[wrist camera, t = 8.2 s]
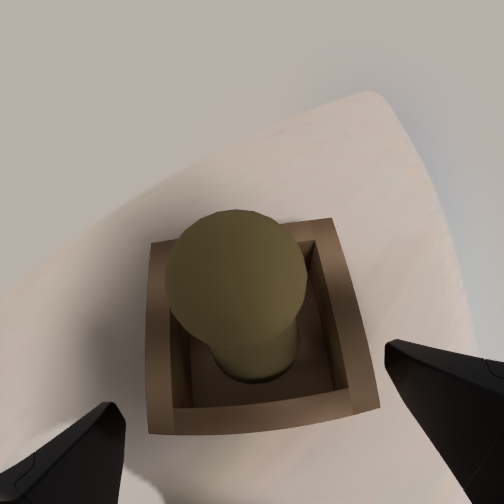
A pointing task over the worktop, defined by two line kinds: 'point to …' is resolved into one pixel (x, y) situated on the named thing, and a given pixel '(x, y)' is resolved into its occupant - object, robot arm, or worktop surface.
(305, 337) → the socket block
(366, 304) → the worktop surface
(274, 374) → the cork
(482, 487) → the robot arm
